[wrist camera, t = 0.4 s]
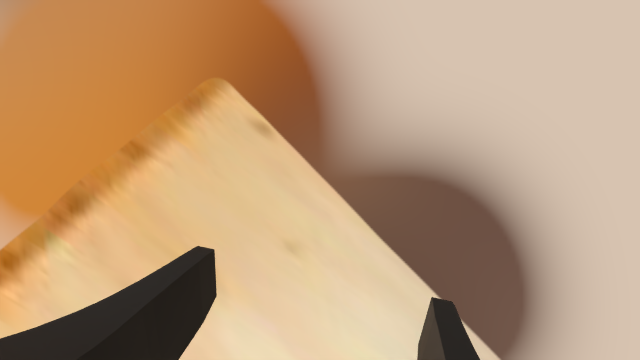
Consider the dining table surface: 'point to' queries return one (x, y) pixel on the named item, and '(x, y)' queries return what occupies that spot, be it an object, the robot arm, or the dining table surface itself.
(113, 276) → the dining table surface
